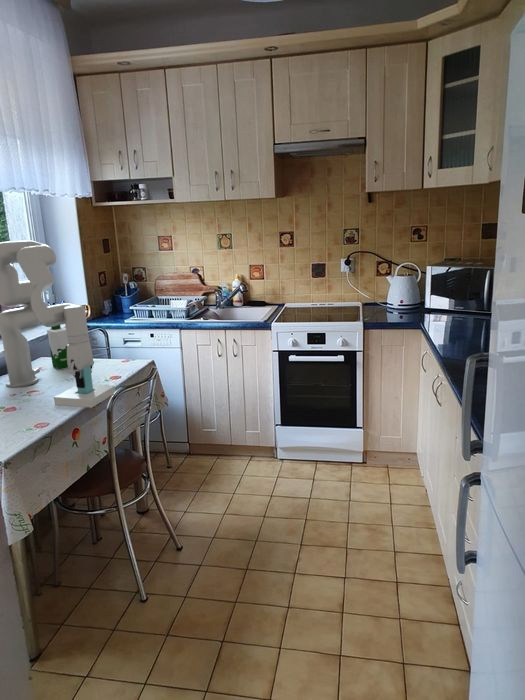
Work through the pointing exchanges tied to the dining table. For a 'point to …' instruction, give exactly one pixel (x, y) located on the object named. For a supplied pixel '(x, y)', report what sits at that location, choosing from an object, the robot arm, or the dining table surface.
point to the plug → (86, 381)
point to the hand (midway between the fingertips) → (84, 385)
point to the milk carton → (58, 346)
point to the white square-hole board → (84, 396)
